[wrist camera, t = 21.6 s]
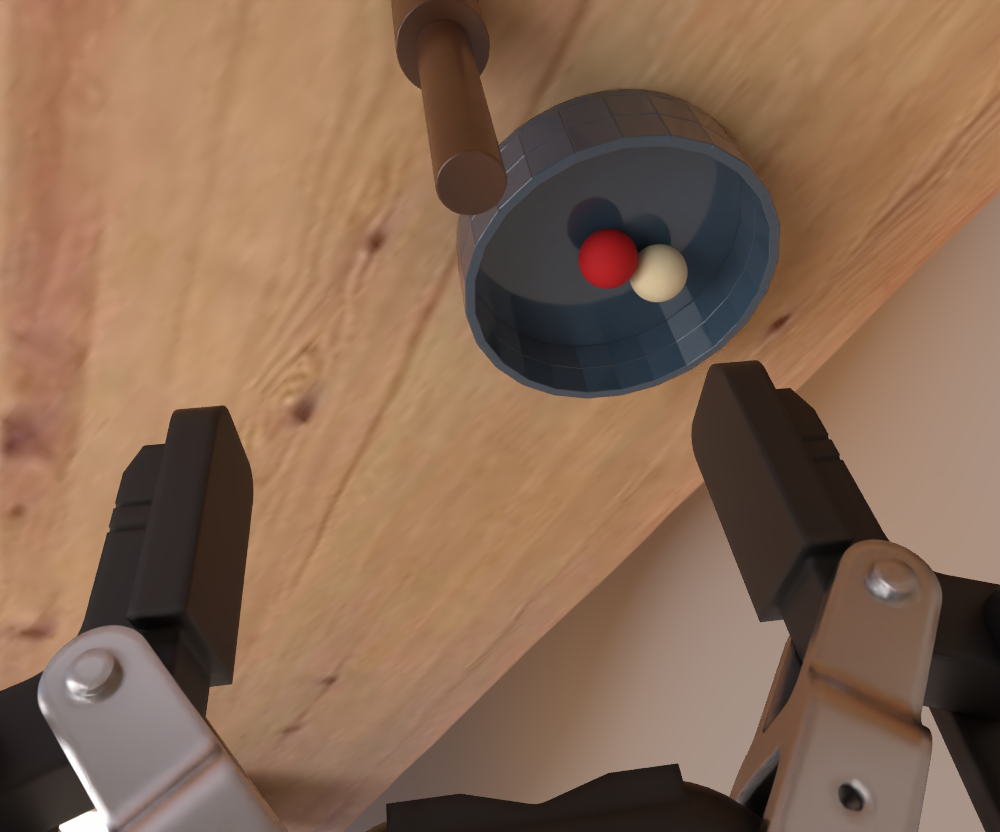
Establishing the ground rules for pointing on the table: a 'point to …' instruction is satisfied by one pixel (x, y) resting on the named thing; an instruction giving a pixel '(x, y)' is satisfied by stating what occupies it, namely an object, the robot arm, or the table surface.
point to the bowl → (636, 212)
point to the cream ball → (659, 273)
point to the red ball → (608, 258)
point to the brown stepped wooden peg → (453, 98)
